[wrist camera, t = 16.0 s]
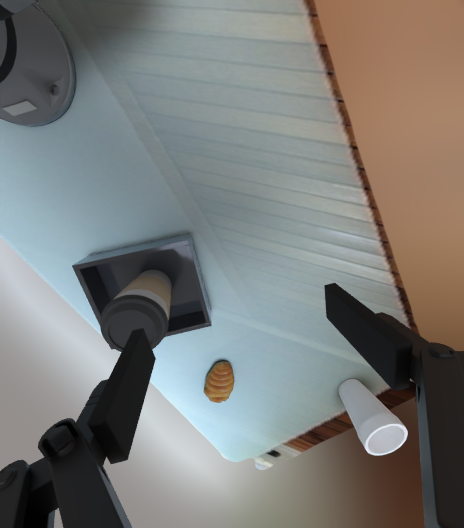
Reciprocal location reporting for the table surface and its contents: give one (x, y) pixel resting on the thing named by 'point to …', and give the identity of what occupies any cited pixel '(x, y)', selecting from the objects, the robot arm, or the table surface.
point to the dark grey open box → (140, 260)
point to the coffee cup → (138, 310)
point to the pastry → (219, 382)
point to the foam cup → (371, 419)
